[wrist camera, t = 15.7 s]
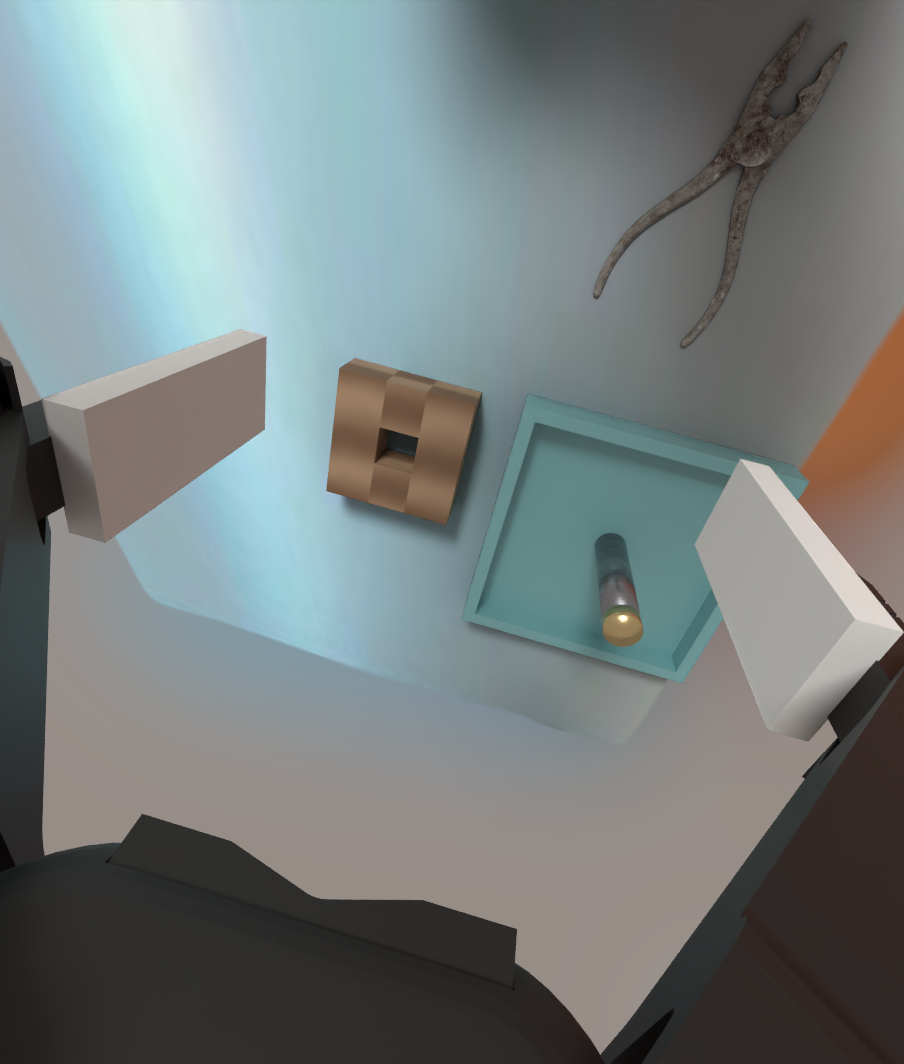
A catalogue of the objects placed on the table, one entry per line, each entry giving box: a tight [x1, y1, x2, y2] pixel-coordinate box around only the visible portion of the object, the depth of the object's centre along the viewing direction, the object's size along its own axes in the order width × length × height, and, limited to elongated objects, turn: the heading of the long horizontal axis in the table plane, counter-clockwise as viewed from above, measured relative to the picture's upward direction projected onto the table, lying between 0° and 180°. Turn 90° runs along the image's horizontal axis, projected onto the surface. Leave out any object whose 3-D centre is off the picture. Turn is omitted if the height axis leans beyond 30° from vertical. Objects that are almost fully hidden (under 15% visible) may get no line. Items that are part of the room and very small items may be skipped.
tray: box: [462, 394, 809, 683], centre depth 52 cm, size 24×24×4 cm
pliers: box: [593, 19, 848, 347], centre depth 39 cm, size 10×1×20 cm
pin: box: [594, 533, 643, 647], centre depth 47 cm, size 3×3×13 cm
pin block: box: [326, 358, 482, 525], centre depth 51 cm, size 12×12×4 cm
